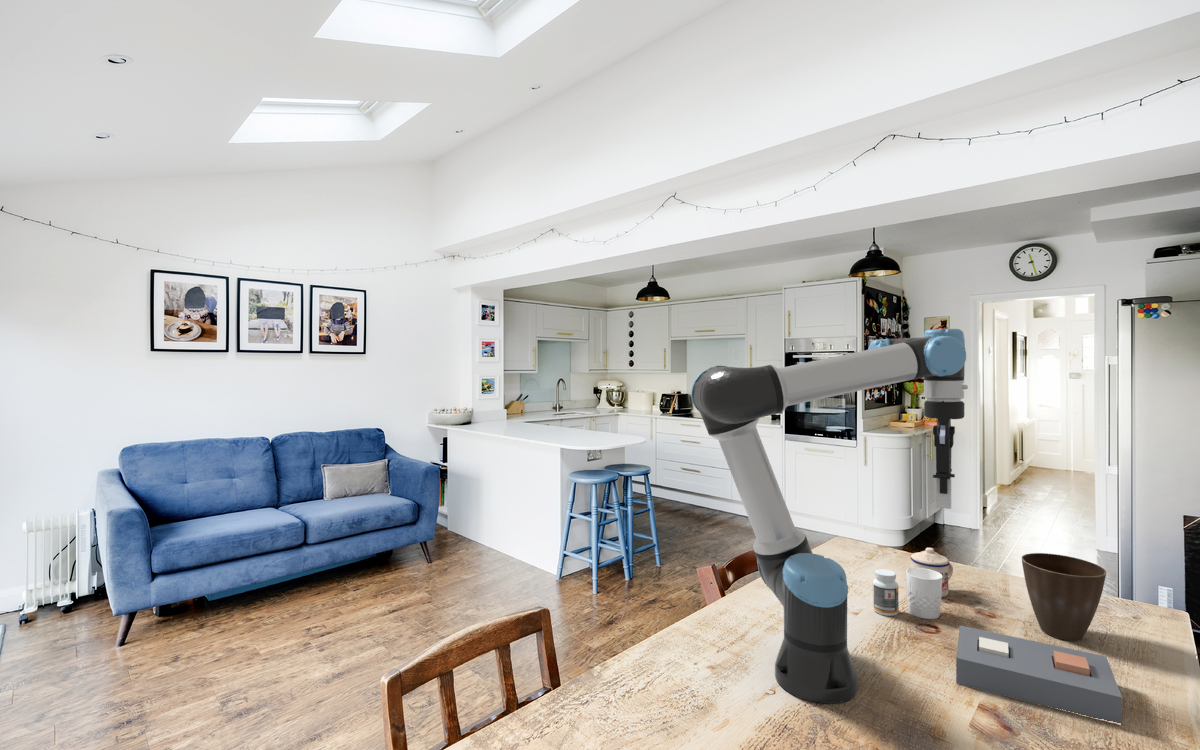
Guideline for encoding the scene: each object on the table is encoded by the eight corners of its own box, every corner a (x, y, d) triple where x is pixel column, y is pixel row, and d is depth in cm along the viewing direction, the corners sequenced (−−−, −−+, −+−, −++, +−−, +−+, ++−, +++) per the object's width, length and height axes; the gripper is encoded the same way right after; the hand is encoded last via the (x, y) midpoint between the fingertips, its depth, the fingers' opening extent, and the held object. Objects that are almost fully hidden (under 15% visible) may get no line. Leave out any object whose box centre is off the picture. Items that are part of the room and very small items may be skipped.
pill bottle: (903, 616, 139) (903, 576, 139) (879, 616, 139) (879, 576, 139) (891, 606, 145) (891, 568, 145) (868, 606, 145) (868, 568, 145)
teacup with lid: (929, 600, 149) (929, 555, 148) (902, 586, 157) (902, 544, 157) (966, 594, 152) (966, 551, 151) (937, 581, 160) (938, 540, 160)
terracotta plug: (1089, 700, 104) (1089, 669, 104) (1055, 692, 107) (1056, 661, 107) (1085, 687, 108) (1085, 657, 108) (1053, 680, 111) (1053, 650, 111)
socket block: (1121, 726, 97) (1122, 697, 97) (956, 683, 111) (956, 657, 111) (1105, 681, 111) (1106, 656, 110) (959, 647, 124) (959, 625, 124)
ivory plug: (1008, 682, 111) (1008, 653, 111) (978, 675, 113) (978, 646, 113) (1007, 671, 115) (1007, 643, 115) (979, 664, 117) (979, 636, 117)
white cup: (909, 603, 147) (909, 565, 146) (945, 612, 142) (945, 572, 141) (902, 614, 140) (902, 574, 140) (939, 623, 135) (939, 582, 135)
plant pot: (1048, 614, 139) (1049, 549, 139) (1121, 642, 125) (1122, 570, 125) (1005, 624, 134) (1006, 557, 134) (1077, 655, 120) (1077, 580, 120)
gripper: (963, 402, 117) (963, 517, 117) (965, 398, 128) (965, 503, 128) (921, 401, 121) (921, 511, 122) (926, 397, 132) (926, 499, 132)
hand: (943, 507), depth 125 cm, fingers closed
